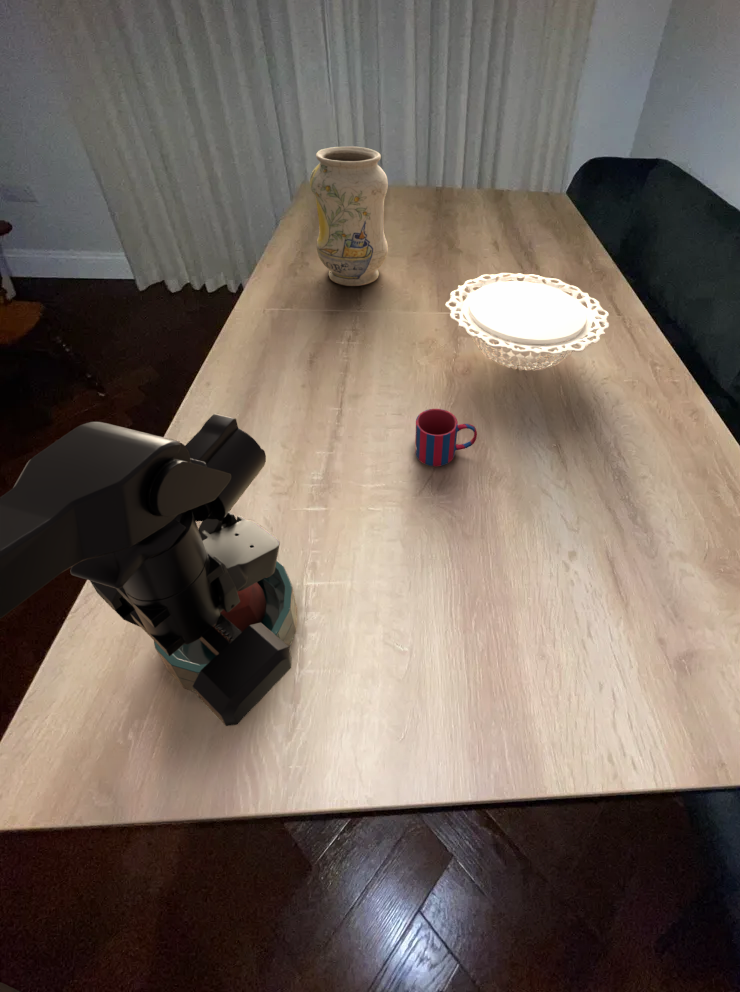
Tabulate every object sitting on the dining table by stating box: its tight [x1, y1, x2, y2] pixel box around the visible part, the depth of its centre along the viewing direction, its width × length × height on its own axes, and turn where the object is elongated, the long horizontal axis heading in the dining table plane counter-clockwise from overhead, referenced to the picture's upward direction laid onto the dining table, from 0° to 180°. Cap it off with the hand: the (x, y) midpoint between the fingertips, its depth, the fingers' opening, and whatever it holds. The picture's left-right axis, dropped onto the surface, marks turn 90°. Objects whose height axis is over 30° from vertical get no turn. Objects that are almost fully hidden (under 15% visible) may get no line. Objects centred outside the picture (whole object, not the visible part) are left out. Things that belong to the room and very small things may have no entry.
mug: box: [414, 408, 478, 467], centre depth 86 cm, size 7×10×7 cm
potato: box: [214, 582, 266, 643], centre depth 61 cm, size 7×8×7 cm
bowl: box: [153, 560, 299, 692], centre depth 61 cm, size 15×15×6 cm
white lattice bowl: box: [444, 272, 610, 372], centre depth 107 cm, size 32×32×13 cm
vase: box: [309, 145, 389, 287], centre depth 129 cm, size 18×18×30 cm
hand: (209, 666), depth 49 cm, fingers open, 9 cm apart
